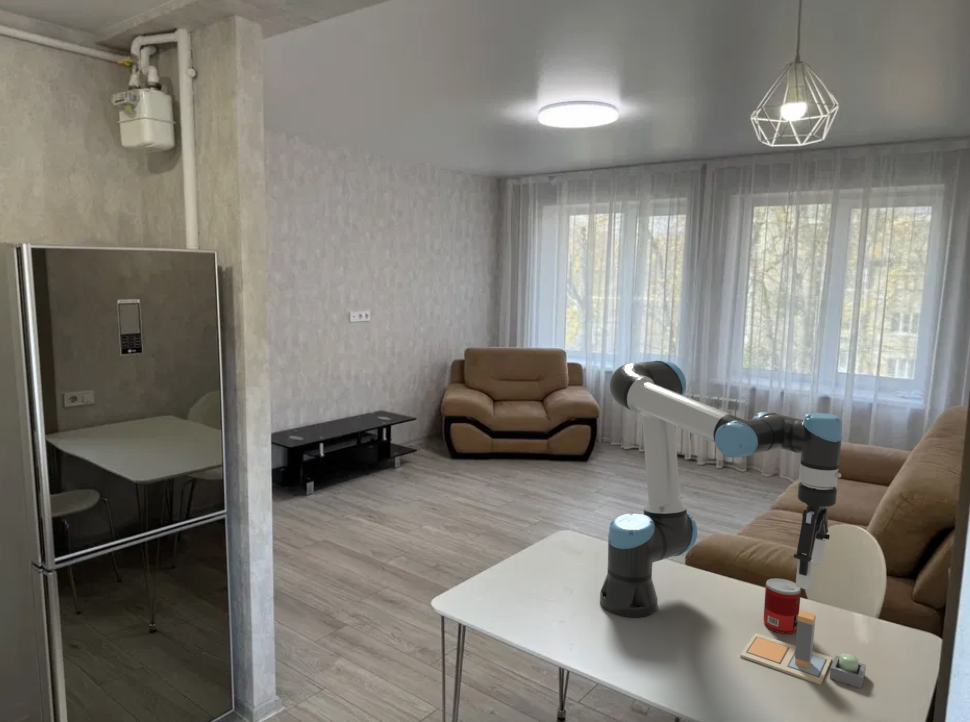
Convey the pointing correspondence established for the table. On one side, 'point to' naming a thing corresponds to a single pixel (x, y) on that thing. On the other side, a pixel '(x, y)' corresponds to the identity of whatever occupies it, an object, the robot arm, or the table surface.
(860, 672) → the button collar
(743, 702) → the table surface
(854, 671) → the button
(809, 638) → the marker
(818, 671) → the sheet
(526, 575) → the table surface
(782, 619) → the canned food
